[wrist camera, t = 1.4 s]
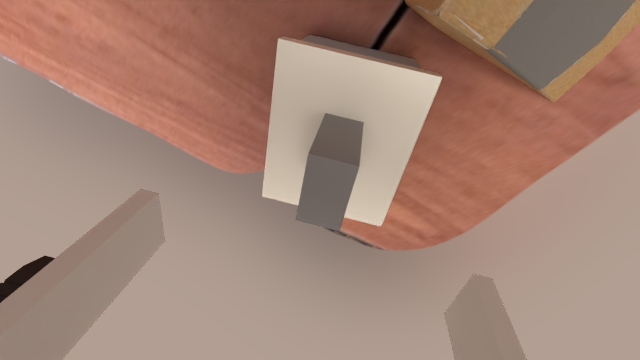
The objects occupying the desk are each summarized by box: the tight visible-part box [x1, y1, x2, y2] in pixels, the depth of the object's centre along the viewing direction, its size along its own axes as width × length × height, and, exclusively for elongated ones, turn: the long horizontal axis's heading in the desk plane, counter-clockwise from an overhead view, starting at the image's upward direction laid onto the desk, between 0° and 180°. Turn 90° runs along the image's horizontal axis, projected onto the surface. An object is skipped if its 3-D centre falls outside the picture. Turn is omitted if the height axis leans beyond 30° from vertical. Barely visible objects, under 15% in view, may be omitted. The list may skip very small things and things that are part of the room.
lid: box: [262, 36, 443, 231], centre depth 19 cm, size 12×10×8 cm
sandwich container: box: [405, 0, 640, 102], centre depth 15 cm, size 9×15×15 cm, turn 62°
